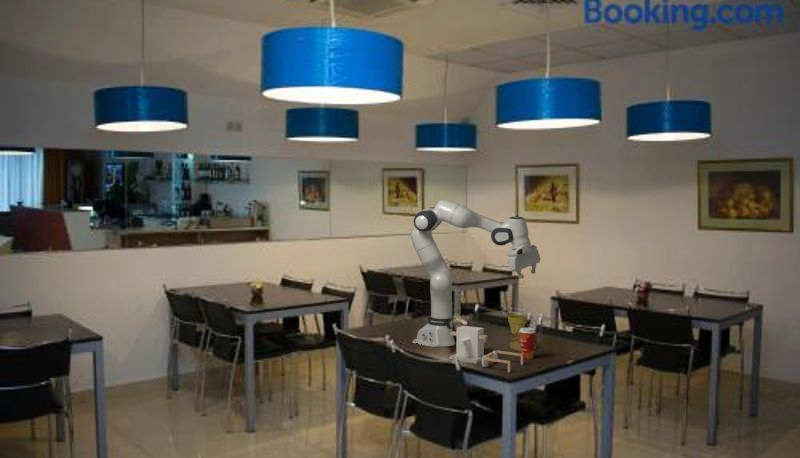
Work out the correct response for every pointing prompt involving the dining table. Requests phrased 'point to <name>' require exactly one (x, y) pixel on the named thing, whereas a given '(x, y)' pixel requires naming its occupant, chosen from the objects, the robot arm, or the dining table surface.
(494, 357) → the glasses
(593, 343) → the dining table surface
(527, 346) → the paper cup
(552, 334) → the dining table surface
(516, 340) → the pastry
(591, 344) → the dining table surface
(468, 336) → the white upright box
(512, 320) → the plant pot
